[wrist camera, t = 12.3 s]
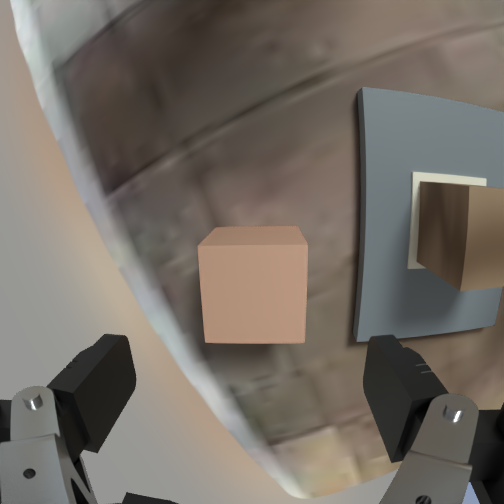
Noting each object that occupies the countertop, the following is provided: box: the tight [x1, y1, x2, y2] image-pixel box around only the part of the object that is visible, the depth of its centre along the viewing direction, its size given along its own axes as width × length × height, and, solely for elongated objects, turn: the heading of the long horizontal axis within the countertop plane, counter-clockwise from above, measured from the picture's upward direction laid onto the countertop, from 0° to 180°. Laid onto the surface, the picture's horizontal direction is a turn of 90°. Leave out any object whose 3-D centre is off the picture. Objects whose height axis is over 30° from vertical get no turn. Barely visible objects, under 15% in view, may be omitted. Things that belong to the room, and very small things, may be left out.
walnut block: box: [416, 181, 504, 291], centre depth 15 cm, size 5×5×6 cm
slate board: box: [353, 87, 504, 342], centre depth 19 cm, size 16×12×1 cm
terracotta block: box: [198, 226, 308, 344], centre depth 18 cm, size 5×5×6 cm
